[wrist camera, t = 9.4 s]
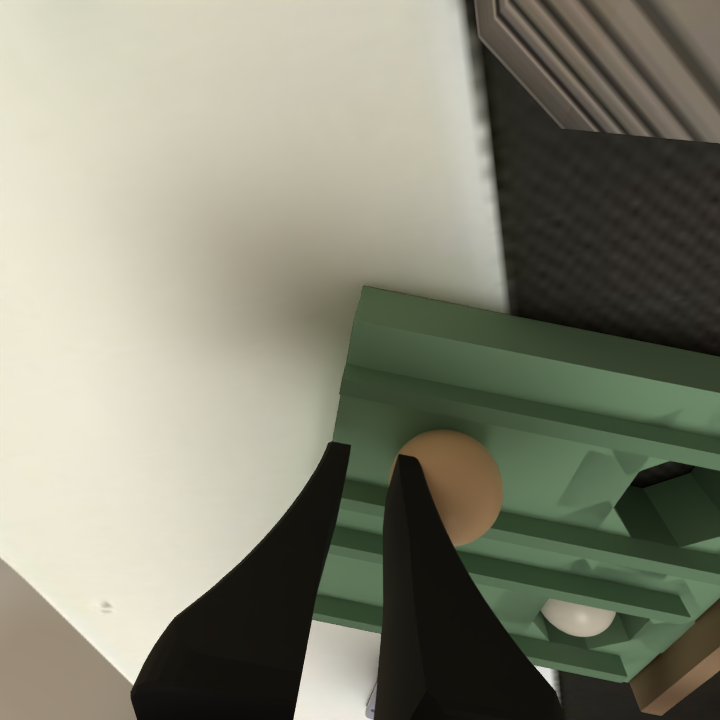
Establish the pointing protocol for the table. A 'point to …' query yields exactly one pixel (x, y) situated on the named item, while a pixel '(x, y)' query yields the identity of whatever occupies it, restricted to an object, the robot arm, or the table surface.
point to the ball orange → (458, 481)
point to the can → (613, 62)
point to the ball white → (577, 618)
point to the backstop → (680, 665)
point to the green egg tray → (538, 473)
